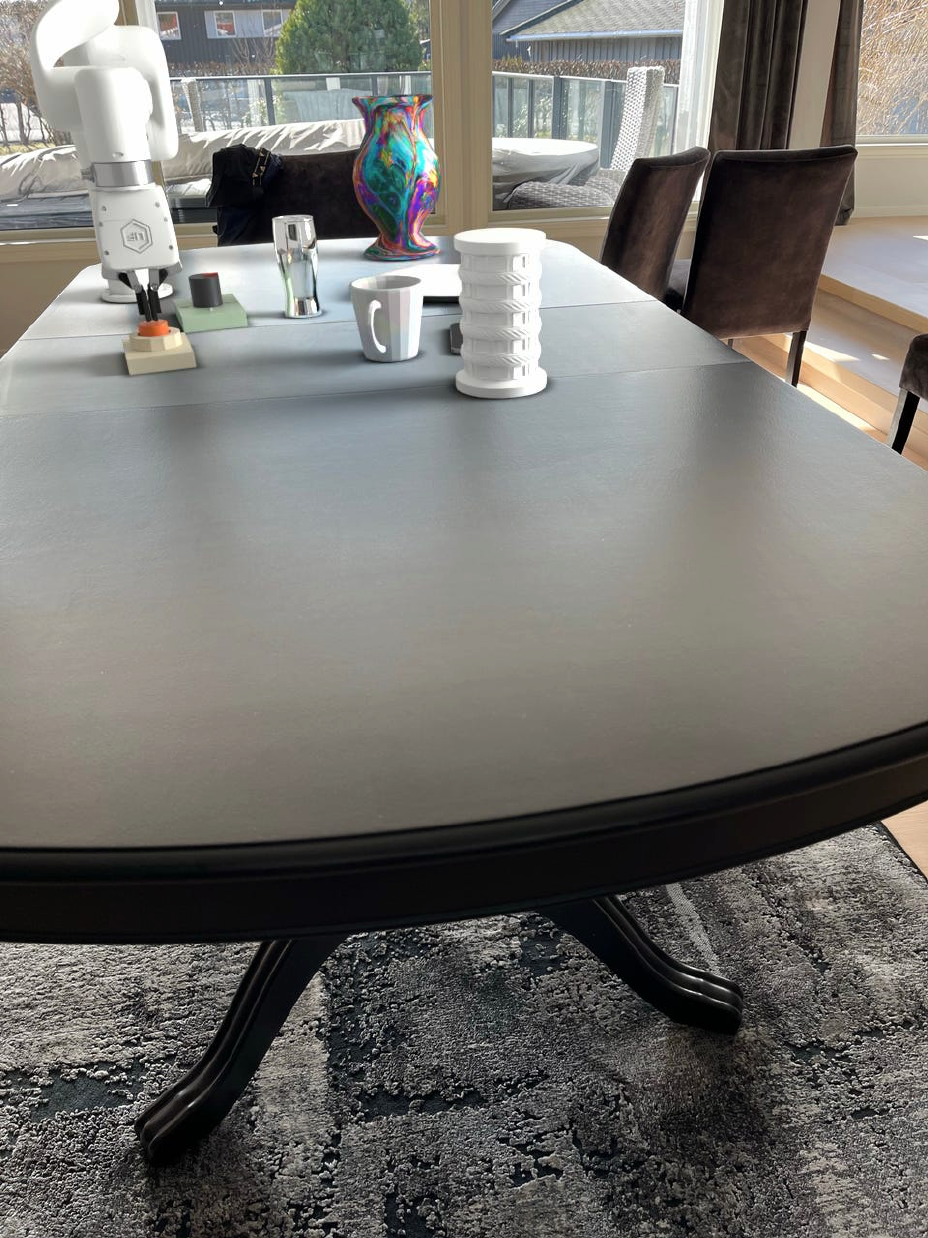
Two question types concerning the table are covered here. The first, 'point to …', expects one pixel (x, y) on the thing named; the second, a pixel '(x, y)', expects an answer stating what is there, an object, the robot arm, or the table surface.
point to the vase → (396, 174)
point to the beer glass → (297, 263)
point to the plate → (434, 280)
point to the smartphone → (456, 338)
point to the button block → (158, 352)
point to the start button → (153, 328)
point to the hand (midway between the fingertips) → (151, 319)
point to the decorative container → (500, 312)
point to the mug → (388, 315)
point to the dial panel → (210, 315)
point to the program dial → (205, 290)
